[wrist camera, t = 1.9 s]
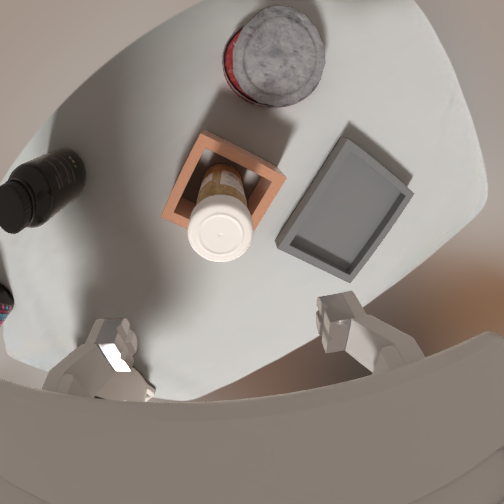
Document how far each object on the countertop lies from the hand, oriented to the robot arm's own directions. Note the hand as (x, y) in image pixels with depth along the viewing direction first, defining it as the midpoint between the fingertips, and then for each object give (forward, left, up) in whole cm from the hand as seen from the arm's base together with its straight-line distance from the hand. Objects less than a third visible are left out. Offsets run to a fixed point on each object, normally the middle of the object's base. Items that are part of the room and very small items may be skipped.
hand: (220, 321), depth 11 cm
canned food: (+14, +2, -22) cm, 26 cm away
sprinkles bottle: (0, 0, -22) cm, 22 cm away
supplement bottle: (-7, +19, -22) cm, 30 cm away
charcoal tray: (+4, -15, -22) cm, 27 cm away
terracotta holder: (0, 0, -22) cm, 22 cm away
